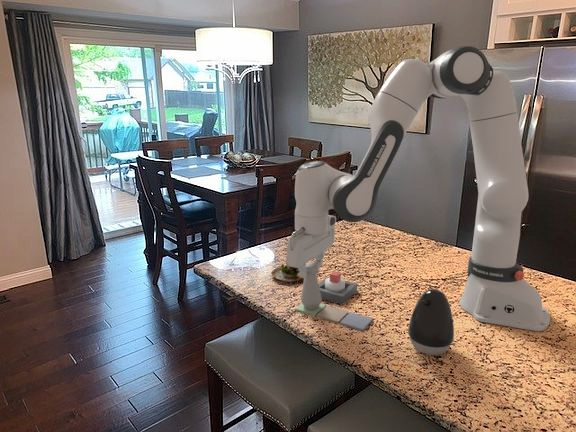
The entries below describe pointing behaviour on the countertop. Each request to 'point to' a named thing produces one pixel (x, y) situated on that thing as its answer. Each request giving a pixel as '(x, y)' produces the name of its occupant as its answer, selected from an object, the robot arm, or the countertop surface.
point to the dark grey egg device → (431, 323)
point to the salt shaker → (311, 288)
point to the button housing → (338, 297)
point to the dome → (335, 282)
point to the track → (337, 316)
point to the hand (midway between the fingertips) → (311, 271)
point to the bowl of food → (287, 274)
